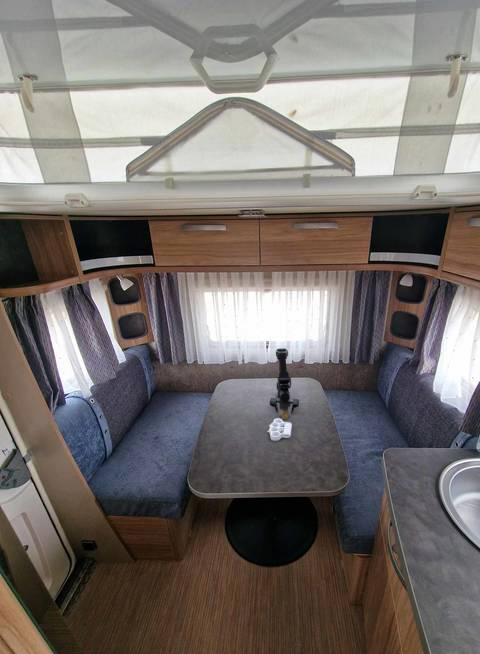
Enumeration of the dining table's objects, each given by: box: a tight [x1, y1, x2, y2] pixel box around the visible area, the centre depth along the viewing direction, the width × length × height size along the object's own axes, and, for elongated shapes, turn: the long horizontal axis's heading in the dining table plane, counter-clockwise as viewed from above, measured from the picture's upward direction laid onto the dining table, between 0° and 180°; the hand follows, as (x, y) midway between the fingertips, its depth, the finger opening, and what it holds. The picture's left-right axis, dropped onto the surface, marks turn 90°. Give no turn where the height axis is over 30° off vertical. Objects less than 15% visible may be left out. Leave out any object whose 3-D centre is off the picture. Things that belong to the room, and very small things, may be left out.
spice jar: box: [280, 408, 289, 420], centre depth 187 cm, size 5×5×8 cm
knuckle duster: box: [266, 417, 293, 442], centre depth 175 cm, size 3×18×15 cm
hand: (284, 413), depth 187 cm, fingers open, 9 cm apart
